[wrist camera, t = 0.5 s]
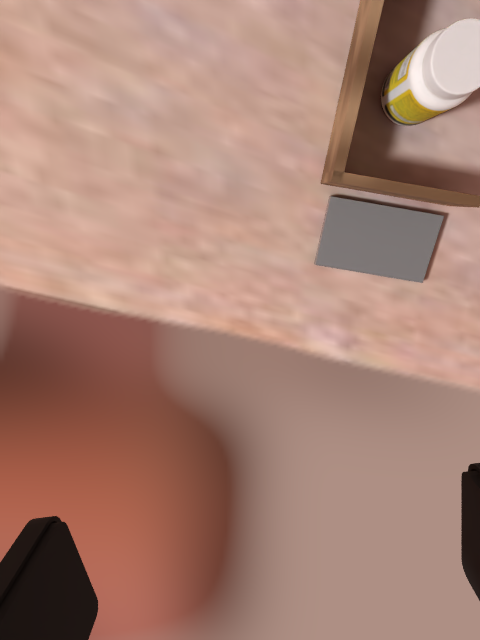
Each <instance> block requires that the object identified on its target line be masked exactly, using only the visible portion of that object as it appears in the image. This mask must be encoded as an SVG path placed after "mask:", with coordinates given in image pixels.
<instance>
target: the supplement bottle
mask: <svg viewBox="0 0 480 640" xmlns="http://www.w3.org/2000/svg"><path fill="white" fill-rule="evenodd" d="M479 87H480V20H479V19H474V18H469V19H463V20H460V21H457V22H455V23H453V24H452V25H450V26H449V27H448V28H444V29H441V30H438V31H436V32H434V33H433V34H431V35H429V36H428V37H427V38H426V39H424V40H423V41H422V42H421V43H420V44H419V45H418V46H417V47H416V48H415V49H414V50H413V51H411V52H410V53H409V54H408V55H407V56H406V57H405V58H404V59H403V60H402V61H401V62H400V63H399V64H398V65H397V66H395V67H394V68H393V69H392V70H391V72H390V73H389V74H388V76H387V77H386V79H385V81H384V84H383V87H382V91H381V103H382V107H383V110H384V112H385V114H386V115H387V117H388V118H389V119H390V120H391V121H392V122H394V123H396V124H398V125H402V126H412V125H416V124H419V123H421V122H423V121H426V120H428V119H430V118H432V117H434V116H436V115H439V114H441V113H443V112H445V111H447V110H450V109H452V108H454V107H456V106H458V105H459V104H461V103H462V102H463V101H465V100H466V99H467V98H468V97H469V96H470V95H471V94H472V92H473V91H475V90H476V89H478V88H479Z"/></svg>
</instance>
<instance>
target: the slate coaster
mask: <svg viewBox="0 0 480 640" xmlns="http://www.w3.org/2000/svg"><path fill="white" fill-rule="evenodd" d="M443 218H444V216H442V215H436V214H430V213H424V212H418V211H413V210H407V209H401V208H395V207H390V206H384V205H378V204H372V203H367V202H361V201H355V200H349V199H343V198H338V197H332V196H330V197H329V201H328V205H327V210H326V214H325V219H324V223H323V228H322V232H321V236H320V241H319V245H318V250H317V254H316V259H315V263H314V264H315V265H319V266H325V267H331V268H337V269H343V270H349V271H355V272H361V273H367V274H373V275H379V276H385V277H391V278H397V279H402V280H408V281H414V282H420V283H423V280H424V277H425V274H426V271H427V268H428V264H429V261H430V258H431V255H432V252H433V249H434V246H435V243H436V239H437V236H438V233H439V230H440V227H441V224H442V221H443Z"/></svg>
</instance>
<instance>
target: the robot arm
mask: <svg viewBox="0 0 480 640" xmlns="http://www.w3.org/2000/svg"><path fill="white" fill-rule="evenodd" d="M462 565H463V569H464V572H465V574H466V577H467V579H468V581H469V583H470V584H471V586H472V588H473V590H474V591H475V593H476V595H477V597H478V598H479V600H480V463H475V464H470V465H469V468H468V472H463V473H462ZM97 612H98V600H97V597H96V594H95V592H94V589H93V587H92V585H91V582H90V580H89V577H88V575H87V572H86V570H85V567H84V565H83V563H82V560H81V558H80V555H79V553H78V550H77V548H76V545H75V543H74V541H73V538H72V536H71V533H70V531H69V529H68V526H67V524H66V523H65V522H61V520H60V518H58V517H57V516H52V517H45V518H36V519H32V520H30V521H29V522H28V523H27V525H26V526H25V527H24V529H23V530H22V532H21V533H20V535H19V536H18V538H17V539H16V540H15V542H14V543H13V545H12V546H11V548H10V549H9V551H8V552H7V554H6V555H5V557H4V558H3V560H2V561H1V562H0V640H88V639H89V636H90V633H91V630H92V628H93V625H94V622H95V619H96V616H97Z"/></svg>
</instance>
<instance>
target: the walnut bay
mask: <svg viewBox="0 0 480 640" xmlns="http://www.w3.org/2000/svg"><path fill="white" fill-rule="evenodd" d="M383 3H384V0H360V4H359V9H358V14H357V18H356V23H355V27H354V32H353V37H352V41H351V46H350V50H349V55H348V60H347V64H346V69H345V74H344V78H343V83H342V87H341V92H340V97H339V101H338V106H337V110H336V115H335V120H334V124H333V129H332V134H331V138H330V143H329V147H328V152H327V157H326V161H325V166H324V171H323V175H322V180H321V184H326V185H331V186H337V187H343V188H349V189H354V190H360V191H366V192H372V193H378V194H383V195H389V196H395V197H401V198H406V199H412V200H418V201H424V202H429V203H435V204H441V205H447V206H459V207H479V206H480V196H477V195H471V194H466V193H460V192H454V191H448V190H443V189H437V188H431V187H426V186H420V185H414V184H408V183H403V182H397V181H391V180H386V179H380V178H374V177H368V176H363V175H357V174H351V173H346V172H344V171H345V166H346V162H347V158H348V153H349V149H350V145H351V140H352V136H353V132H354V128H355V123H356V119H357V115H358V110H359V106H360V102H361V98H362V93H363V89H364V85H365V80H366V76H367V72H368V67H369V63H370V59H371V55H372V50H373V46H374V42H375V37H376V33H377V29H378V24H379V20H380V16H381V12H382V7H383Z"/></svg>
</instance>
